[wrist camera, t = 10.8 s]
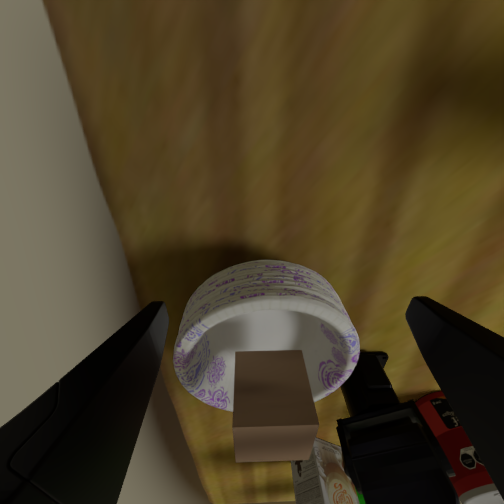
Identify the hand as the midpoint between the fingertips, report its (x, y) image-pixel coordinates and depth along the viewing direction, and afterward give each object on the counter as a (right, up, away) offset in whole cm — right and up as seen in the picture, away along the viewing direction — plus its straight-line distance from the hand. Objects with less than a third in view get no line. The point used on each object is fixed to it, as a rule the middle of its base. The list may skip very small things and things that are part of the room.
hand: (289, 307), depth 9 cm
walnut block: (0, -8, +11) cm, 13 cm away
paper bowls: (0, -3, +18) cm, 18 cm away
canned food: (+28, -22, +30) cm, 46 cm away
